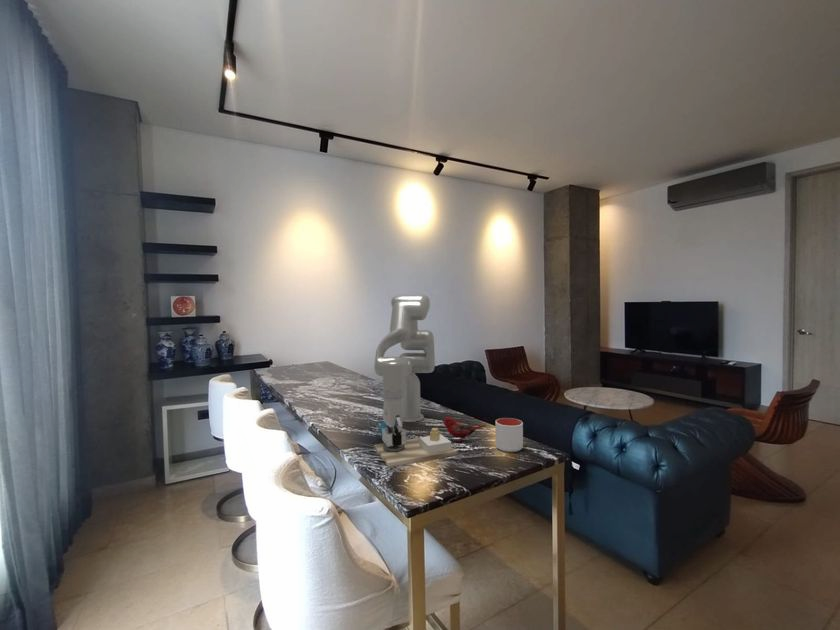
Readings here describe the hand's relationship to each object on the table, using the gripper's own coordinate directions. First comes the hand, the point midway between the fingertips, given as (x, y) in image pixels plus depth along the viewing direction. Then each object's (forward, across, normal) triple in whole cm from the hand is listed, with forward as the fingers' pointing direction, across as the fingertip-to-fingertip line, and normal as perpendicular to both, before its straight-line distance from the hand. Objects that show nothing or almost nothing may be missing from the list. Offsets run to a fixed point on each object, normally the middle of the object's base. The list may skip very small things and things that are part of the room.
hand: (393, 441), depth 141 cm
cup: (+4, +14, +41) cm, 43 cm away
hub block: (+2, +6, +14) cm, 15 cm away
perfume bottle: (+4, -14, +3) cm, 15 cm away
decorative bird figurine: (+4, +1, +29) cm, 29 cm away
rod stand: (+2, 0, 0) cm, 2 cm away
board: (+4, +3, +7) cm, 9 cm away
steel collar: (0, 0, 0) cm, 0 cm away
